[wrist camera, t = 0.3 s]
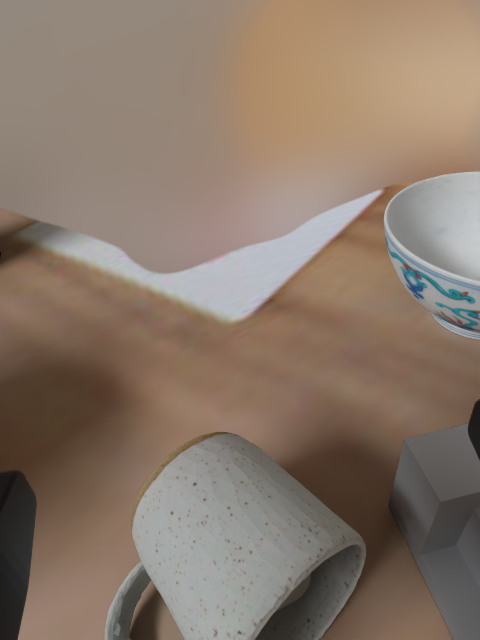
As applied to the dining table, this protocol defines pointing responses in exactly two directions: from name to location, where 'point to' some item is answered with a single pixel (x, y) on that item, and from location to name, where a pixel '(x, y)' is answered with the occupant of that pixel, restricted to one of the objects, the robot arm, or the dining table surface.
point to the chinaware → (439, 247)
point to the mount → (443, 521)
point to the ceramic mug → (237, 548)
